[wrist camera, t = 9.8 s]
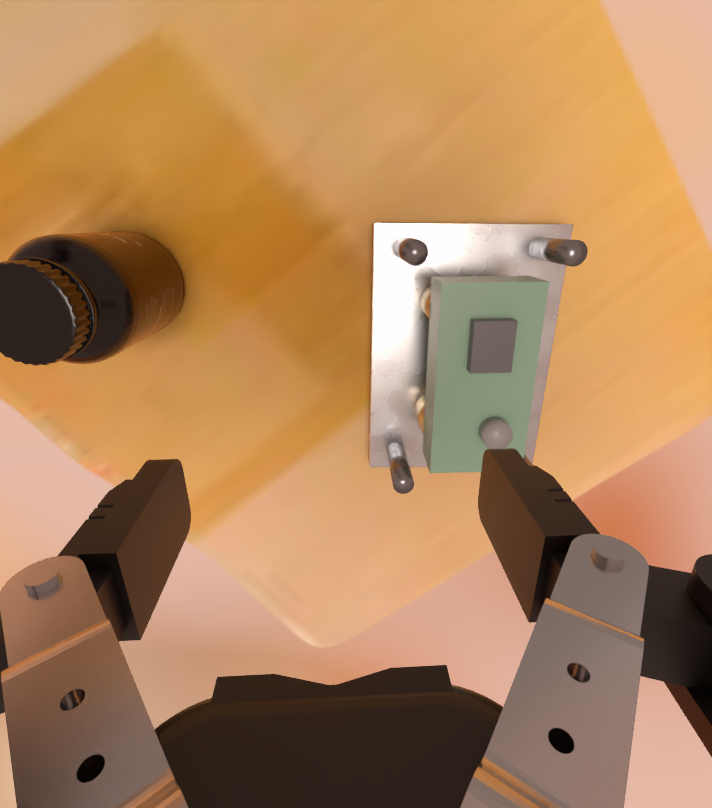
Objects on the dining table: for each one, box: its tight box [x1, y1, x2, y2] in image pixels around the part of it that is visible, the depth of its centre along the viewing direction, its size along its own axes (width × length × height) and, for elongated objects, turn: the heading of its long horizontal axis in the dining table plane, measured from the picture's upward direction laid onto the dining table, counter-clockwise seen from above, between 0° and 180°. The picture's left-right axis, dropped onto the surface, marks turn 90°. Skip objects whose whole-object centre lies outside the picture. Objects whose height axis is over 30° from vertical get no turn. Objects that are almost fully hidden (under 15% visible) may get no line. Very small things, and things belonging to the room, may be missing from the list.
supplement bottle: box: [0, 232, 183, 366], centre depth 26 cm, size 7×7×12 cm
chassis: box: [369, 223, 587, 494], centre depth 31 cm, size 18×13×6 cm
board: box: [422, 276, 549, 473], centre depth 28 cm, size 12×6×4 cm, turn 0°
